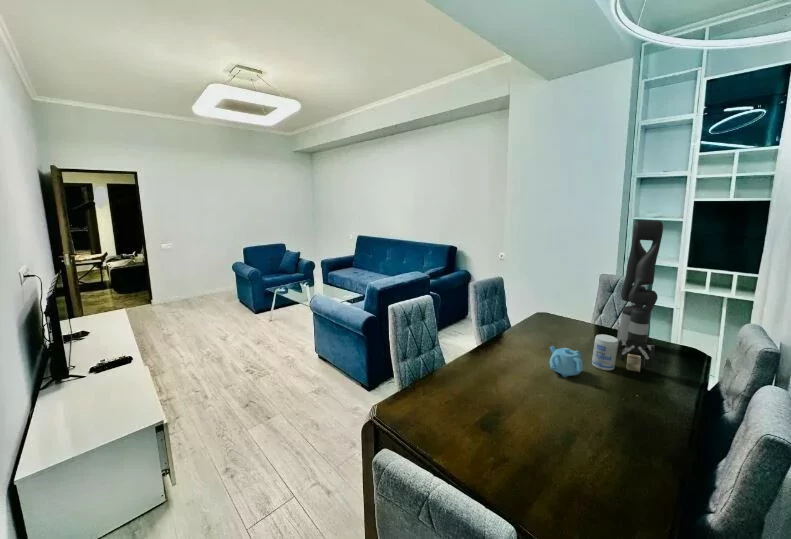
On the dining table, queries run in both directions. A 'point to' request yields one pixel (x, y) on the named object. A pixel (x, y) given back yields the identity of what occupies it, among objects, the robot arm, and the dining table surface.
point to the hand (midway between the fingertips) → (633, 363)
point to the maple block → (633, 362)
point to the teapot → (566, 361)
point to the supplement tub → (605, 352)
